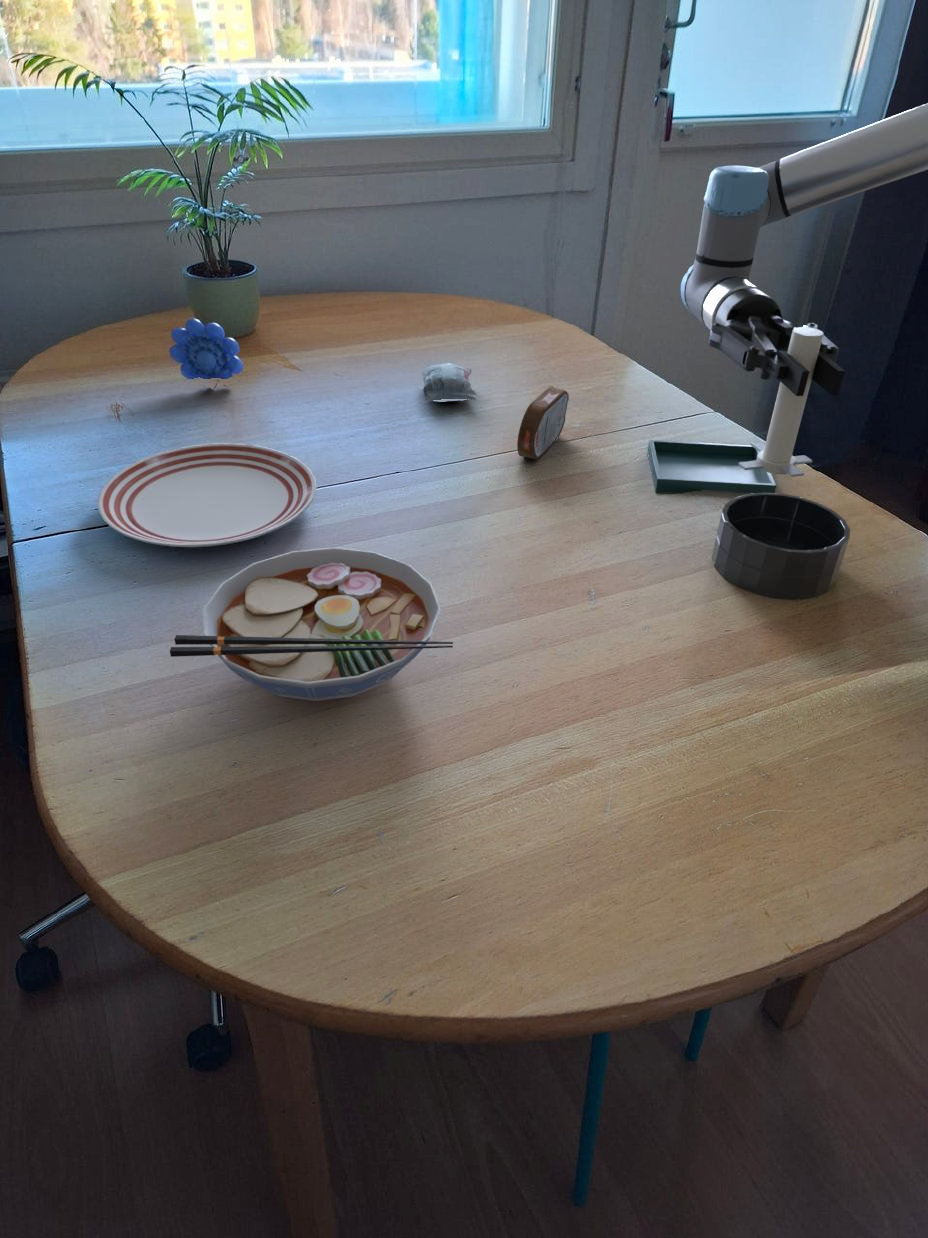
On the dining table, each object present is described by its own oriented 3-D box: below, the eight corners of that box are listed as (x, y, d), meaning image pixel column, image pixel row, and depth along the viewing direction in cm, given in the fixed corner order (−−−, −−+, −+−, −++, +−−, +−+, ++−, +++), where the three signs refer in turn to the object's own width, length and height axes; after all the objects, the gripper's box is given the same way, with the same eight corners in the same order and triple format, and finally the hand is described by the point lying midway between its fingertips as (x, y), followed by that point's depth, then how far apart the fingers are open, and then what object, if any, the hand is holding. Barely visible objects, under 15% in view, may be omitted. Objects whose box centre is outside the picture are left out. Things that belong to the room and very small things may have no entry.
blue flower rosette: (175, 400, 145) (162, 327, 138) (177, 385, 151) (164, 315, 144) (246, 396, 147) (237, 324, 140) (246, 381, 153) (237, 312, 146)
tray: (755, 458, 131) (758, 445, 130) (773, 499, 121) (776, 485, 119) (647, 452, 132) (649, 439, 131) (655, 492, 122) (657, 478, 120)
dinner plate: (351, 530, 111) (350, 506, 109) (132, 586, 99) (126, 562, 98) (274, 449, 130) (272, 428, 128) (82, 489, 119) (77, 467, 117)
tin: (549, 428, 139) (554, 377, 134) (568, 432, 138) (573, 380, 133) (513, 465, 128) (517, 410, 123) (533, 469, 127) (537, 414, 122)
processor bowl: (817, 545, 110) (831, 496, 106) (847, 609, 99) (865, 556, 95) (703, 538, 111) (714, 489, 107) (721, 601, 100) (733, 548, 96)
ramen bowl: (450, 603, 98) (451, 540, 93) (452, 745, 79) (453, 676, 75) (226, 602, 97) (215, 539, 93) (175, 746, 79) (159, 675, 74)
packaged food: (471, 384, 154) (471, 356, 151) (476, 410, 144) (477, 381, 142) (421, 385, 154) (421, 357, 151) (424, 411, 144) (423, 382, 141)
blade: (786, 447, 109) (819, 316, 99) (829, 479, 101) (869, 341, 92) (721, 454, 106) (749, 321, 97) (761, 487, 99) (795, 347, 90)
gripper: (796, 345, 114) (882, 415, 95) (675, 347, 113) (739, 418, 94) (810, 286, 110) (904, 347, 91) (685, 287, 109) (754, 349, 90)
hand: (820, 383), depth 93 cm, fingers closed on blade, 3 cm apart
